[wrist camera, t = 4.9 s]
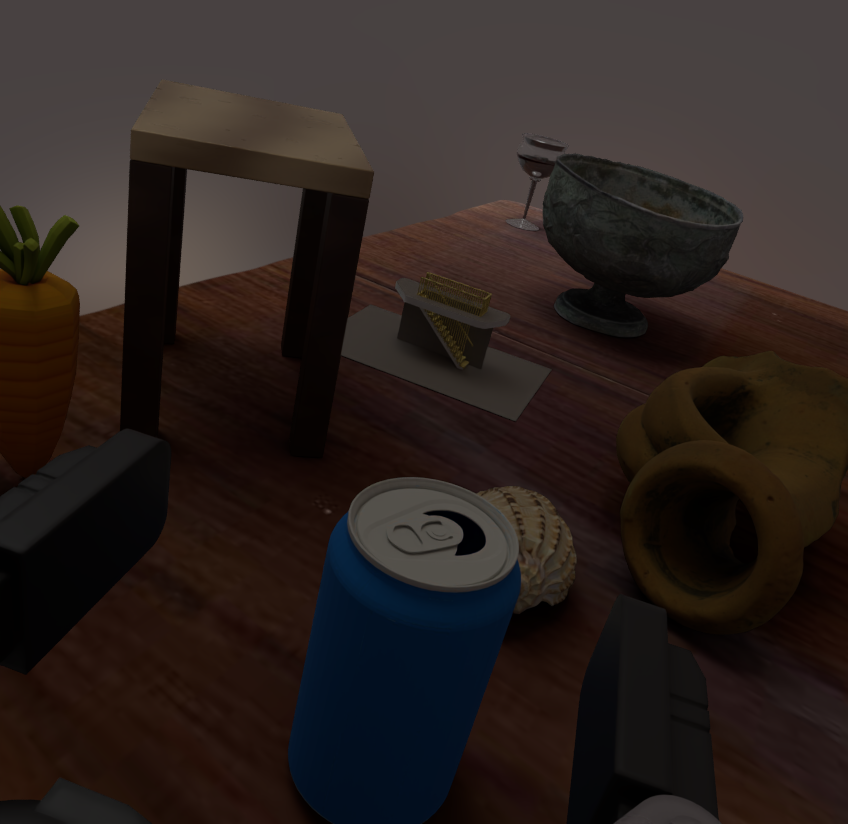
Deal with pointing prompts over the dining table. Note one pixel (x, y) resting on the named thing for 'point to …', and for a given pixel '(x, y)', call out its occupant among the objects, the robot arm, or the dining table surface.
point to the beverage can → (401, 649)
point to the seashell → (537, 545)
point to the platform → (444, 347)
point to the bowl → (631, 238)
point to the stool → (314, 249)
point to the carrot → (34, 342)
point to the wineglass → (536, 167)
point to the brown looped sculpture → (731, 485)
